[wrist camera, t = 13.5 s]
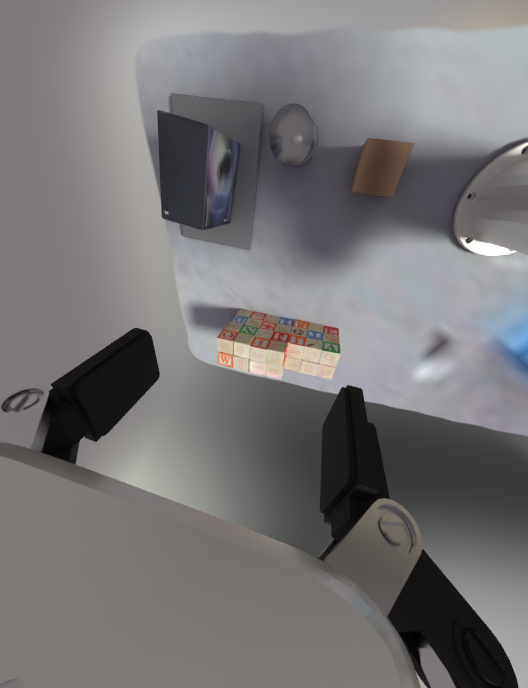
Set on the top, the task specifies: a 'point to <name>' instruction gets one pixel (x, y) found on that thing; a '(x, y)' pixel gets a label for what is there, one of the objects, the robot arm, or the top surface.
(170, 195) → the small box
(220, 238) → the slate board
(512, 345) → the top surface
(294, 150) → the metallic grey egg
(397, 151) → the walnut block
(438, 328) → the top surface
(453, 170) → the top surface
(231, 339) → the stack of blocks
